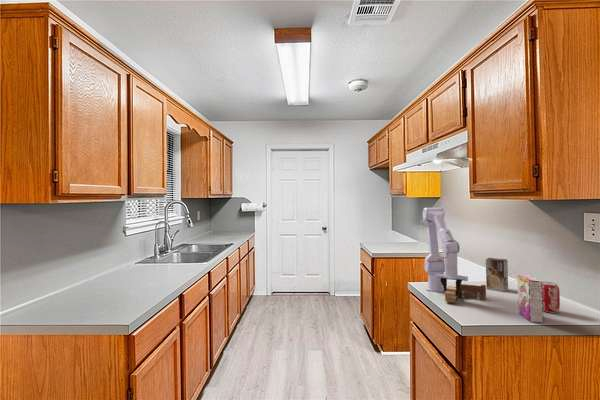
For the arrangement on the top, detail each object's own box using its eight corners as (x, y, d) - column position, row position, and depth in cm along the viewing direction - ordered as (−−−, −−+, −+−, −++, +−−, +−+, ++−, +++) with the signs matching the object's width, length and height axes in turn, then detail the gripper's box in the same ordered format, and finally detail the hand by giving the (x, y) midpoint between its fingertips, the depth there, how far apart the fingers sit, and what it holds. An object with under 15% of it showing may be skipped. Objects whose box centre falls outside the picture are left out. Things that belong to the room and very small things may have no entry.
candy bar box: (517, 313, 146) (516, 274, 146) (530, 313, 145) (530, 274, 145) (529, 322, 135) (528, 280, 135) (543, 323, 134) (543, 280, 134)
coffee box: (508, 289, 183) (508, 259, 183) (504, 292, 178) (504, 261, 178) (490, 286, 189) (489, 257, 189) (485, 289, 185) (485, 259, 185)
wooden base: (456, 295, 174) (456, 282, 174) (486, 298, 168) (485, 285, 168) (455, 297, 170) (455, 284, 170) (485, 301, 164) (485, 287, 164)
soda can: (563, 312, 146) (562, 283, 146) (554, 315, 143) (554, 286, 143) (544, 307, 152) (544, 280, 152) (536, 310, 149) (535, 282, 149)
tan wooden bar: (448, 293, 174) (448, 286, 174) (457, 294, 172) (457, 286, 172) (445, 301, 162) (445, 293, 162) (454, 302, 160) (454, 293, 160)
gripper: (433, 266, 167) (434, 294, 167) (467, 269, 160) (467, 298, 160) (435, 264, 173) (436, 291, 173) (468, 266, 166) (468, 294, 166)
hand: (451, 294), depth 167 cm, fingers closed on tan wooden bar, 4 cm apart
